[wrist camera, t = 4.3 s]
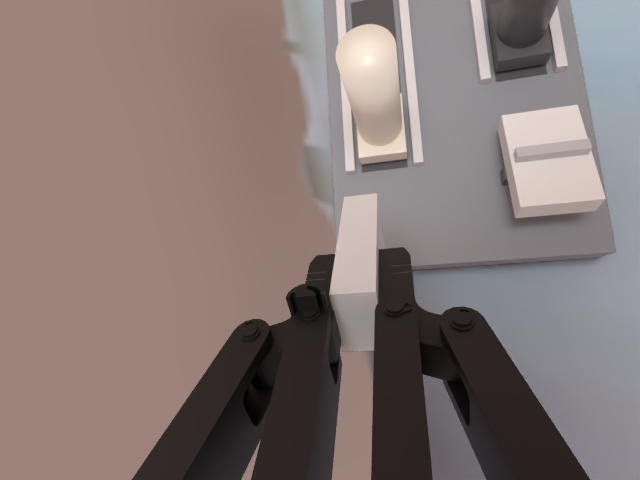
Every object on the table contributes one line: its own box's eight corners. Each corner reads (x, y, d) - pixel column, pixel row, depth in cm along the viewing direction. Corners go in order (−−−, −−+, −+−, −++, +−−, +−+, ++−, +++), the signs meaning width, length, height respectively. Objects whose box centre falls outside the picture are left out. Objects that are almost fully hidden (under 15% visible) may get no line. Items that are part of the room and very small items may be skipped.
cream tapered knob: (357, 109, 28) (331, 19, 19) (402, 102, 27) (395, 6, 19) (361, 164, 27) (335, 96, 19) (407, 158, 26) (402, 85, 18)
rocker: (497, 130, 25) (503, 108, 23) (569, 120, 24) (581, 97, 22) (515, 218, 23) (522, 201, 21) (595, 211, 22) (610, 193, 20)
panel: (326, -58, 34) (312, -114, 30) (533, -110, 31) (553, -183, 26) (344, 274, 29) (330, 267, 24) (597, 257, 25) (636, 245, 21)
